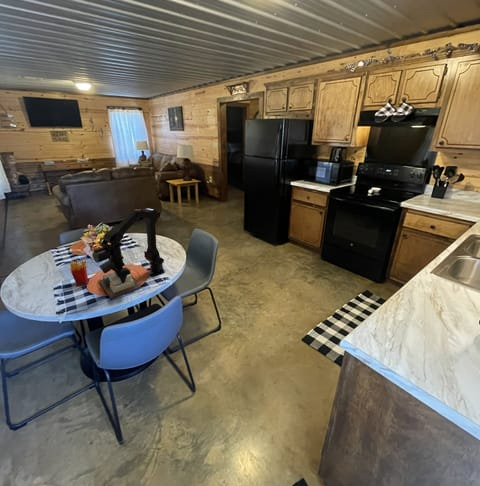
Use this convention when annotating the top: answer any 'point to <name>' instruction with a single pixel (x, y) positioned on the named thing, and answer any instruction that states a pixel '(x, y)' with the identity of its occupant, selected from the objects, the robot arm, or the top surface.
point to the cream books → (121, 285)
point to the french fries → (79, 272)
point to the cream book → (118, 279)
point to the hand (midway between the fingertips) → (121, 280)
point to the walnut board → (119, 293)
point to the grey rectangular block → (106, 277)
